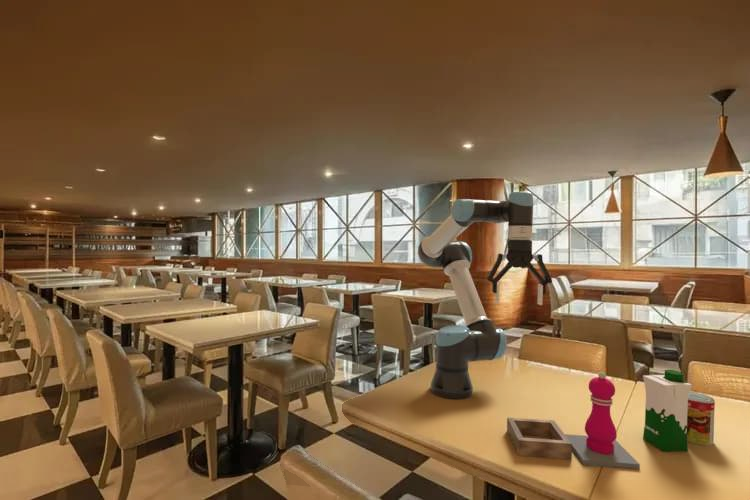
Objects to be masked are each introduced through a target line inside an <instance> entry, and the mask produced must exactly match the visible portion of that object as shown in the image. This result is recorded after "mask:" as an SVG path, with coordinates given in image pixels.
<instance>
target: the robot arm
mask: <svg viewBox="0 0 750 500" xmlns="http://www.w3.org/2000/svg"><path fill="white" fill-rule="evenodd" d="M533 196H534V194H533V193H532V192H531V191H512V192H510V193H509V194H508V198H507V199H508V200H507V199H506V200H489V199H486V200H483V199H473V198H472V199H470V198H458V199H456V200H454V201H453V203H452V206H451V210H450V215H449V216H448V217H447V218H446V219H445V220H444V221H443V222H442V223H441V224H440V225H439V226H438V227H437V228H436V229H435V231H433V232H432V233H431V235H429V236H425V237H424V238H423V239H422V240H421V241H420V243H419V245H418V248H417V255H418V257H419V260H420V261H421V263H423V264H424V265H425V266H426V267H430V268H442V270H443V272H444V274H445V275H446V276H448V277H449V279H450V282H451V285H452V289H453V291H454V294H455V296H456V300H457V303H458V306H459V309H460V311H461V314H462V317H463V320H464V323H465V325H460V324H459V325H456V324H454V325H446V326H443V327H441V328H439V329H438V331H437V332H436V339H435V345H436V346H435V348H436V349H435V353H436V354H435V371H434V373H433V377H432V378H431V382H430V391H431V393H433V394H434V395H435V396H438V397H441V398H446V399H450V400H451V399H452V400H460V399H462V400H463V399H467V398H470V397H472V396H473V394H474V388H473V386H474V385H473V384H472V380H471V376H470V373H469V363H470V362H481V361H482V362H483V361H493V360H494V361H495V360H500V359H501V358H503V356H504V355H505V353H506V352H507V345H508V343H507V336H506V334H505V331H504V330H503V329H502V328H501V327H498V326H497V327H496V326H495V324H494V321H493V320H492V319H490V318H489V317H488V316H487V313H486V311H485V309H484V306H483V304H482V301H481V299H480V296H479V293H478V291H477V288H476V286H475V285H476V284H475V283H474V280H473V277H472V275H471V273H470V270H469V269H470V268H471V264H472V262H473V252H472V249H471V247H470V246H469V245H468V244H467V243H466V242H465V241H459V240H455V239H456V238H457V237H459V236H460V235H461V234H462V233H463V232H464V231H465V230H467V229H468V228H469V227H470V226H471V225H472V224H474V223H478V222H479V223H492V224H502V223H507V238H508V239H509V240H507V253H506V254H503V253H500V252H499V253H498V254H497V256H496V260H495V263H494V264H493V266H492V267H491V268H492V269H491V270H490V272H489V273H488V275H487V277H486V281H487V282H490V283H491V286H492V287H491V289H492V290H491V291H492V293H493V294H494V295H495V297H494V299H495V300H494V302H495V304H498V305H500V285H501V284H500V283H499V281H501V279H502V278H503V277H504V276H505V274H506V273H508V272H509V270H511V269H512V268H517V269H518V268H523V269H525V268H527V269H528V270H529V272H531V274H532V276H534V277H535V278H536V280H537V281H538V282H539V283H540V284H539V283H538V284H537V301H536V302H537V303H536V304H537V305H539V306H543V296H544V295H546V293H547V285H549V284H551V283H553V279H552V277H551V275H550V274H549V271H548V269H547V267H546V265H545V262H544V261H543V254H541V253H540V254H539V253H537V254H533V241H532V240H531V239H532V238H533V223H534V221H533V219H534V218H533V217H534V197H533ZM505 259H506V260H507V261H508V262H506V264H505V266H504V267H502V269H501V270H500V271H499V272H498V273H497V271H498V269H499V267H500V266H501V264H502V262H503V261H504V260H505ZM533 259H534V261H535V262H536V263H537V265H538V267H539V270H540V271H541V273H542V275H543V277H542V275H541V274H540V272H538V270H537V268H535V266H534V265H533V264H532V263H531V262H532V261H533ZM496 273H497V275H496Z"/></svg>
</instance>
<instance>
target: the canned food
mask: <svg viewBox="0 0 750 500" xmlns="http://www.w3.org/2000/svg"><path fill="white" fill-rule="evenodd" d="M715 403H716V400H715V398H713V397H711V396H709V395H707V394H705V393H704V394H703V393H700V392H694V391H690V394H689V398H688V409H687V443H691V444H694V445H698V446H706V447H707V446H708V447H709V446H713V445H714V436H715V434H714V433H715V409H716V407H715Z"/></svg>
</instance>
